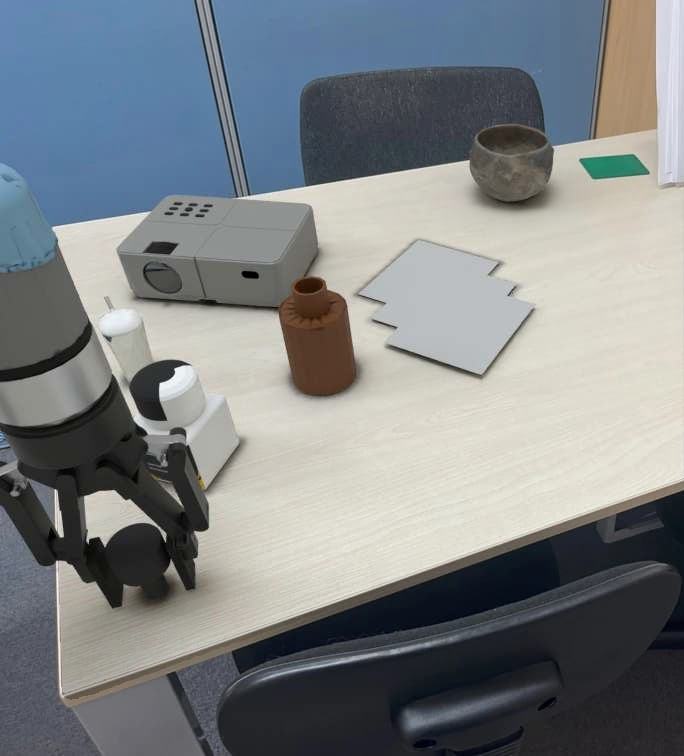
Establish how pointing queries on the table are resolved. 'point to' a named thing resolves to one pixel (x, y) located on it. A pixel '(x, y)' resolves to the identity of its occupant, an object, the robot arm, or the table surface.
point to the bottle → (317, 338)
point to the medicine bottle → (183, 417)
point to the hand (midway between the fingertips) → (154, 585)
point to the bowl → (511, 161)
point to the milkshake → (126, 339)
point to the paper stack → (447, 306)
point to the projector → (220, 250)
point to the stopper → (140, 558)
